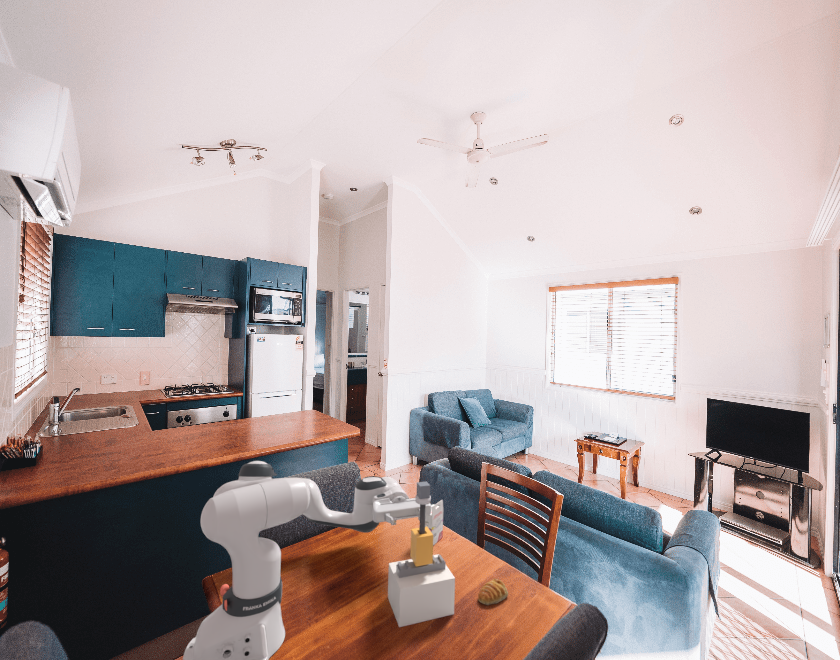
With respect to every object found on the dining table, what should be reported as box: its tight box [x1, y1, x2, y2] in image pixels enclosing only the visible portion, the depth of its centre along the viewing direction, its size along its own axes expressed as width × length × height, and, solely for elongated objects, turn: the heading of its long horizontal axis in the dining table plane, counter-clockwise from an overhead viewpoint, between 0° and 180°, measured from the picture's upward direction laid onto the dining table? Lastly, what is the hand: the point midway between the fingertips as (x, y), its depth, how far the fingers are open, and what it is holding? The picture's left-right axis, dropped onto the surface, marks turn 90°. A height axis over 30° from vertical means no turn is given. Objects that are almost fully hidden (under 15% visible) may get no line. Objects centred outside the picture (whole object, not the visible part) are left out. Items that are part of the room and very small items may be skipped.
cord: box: [414, 481, 432, 534], centre depth 108 cm, size 4×4×25 cm
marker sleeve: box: [409, 527, 434, 566], centre depth 108 cm, size 5×5×8 cm
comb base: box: [387, 553, 456, 628], centre depth 108 cm, size 16×12×13 cm
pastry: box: [477, 578, 509, 606], centre depth 112 cm, size 9×7×4 cm
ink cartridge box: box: [425, 499, 444, 546], centre depth 143 cm, size 9×5×15 cm, turn 147°
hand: (408, 520), depth 121 cm, fingers open, 8 cm apart
